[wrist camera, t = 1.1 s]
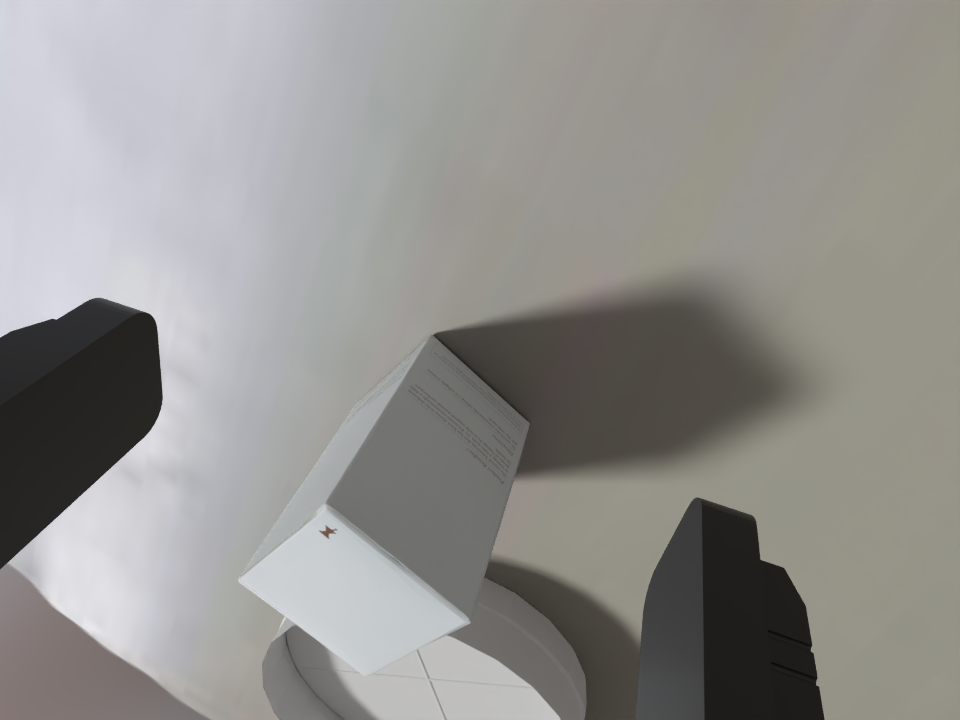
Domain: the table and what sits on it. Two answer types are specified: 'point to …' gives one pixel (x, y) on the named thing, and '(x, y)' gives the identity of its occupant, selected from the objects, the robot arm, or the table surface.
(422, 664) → the dish
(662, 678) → the robot arm
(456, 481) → the supplement box
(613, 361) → the table surface
